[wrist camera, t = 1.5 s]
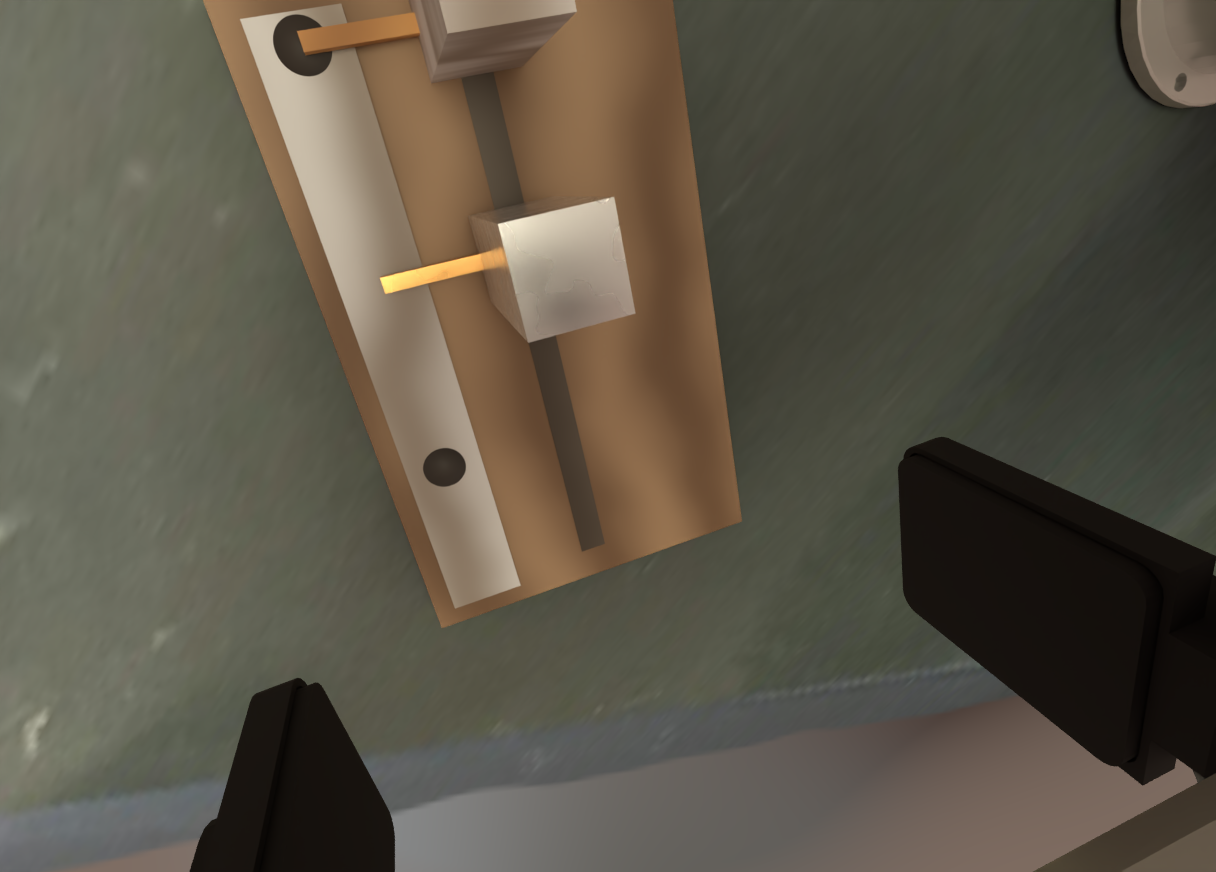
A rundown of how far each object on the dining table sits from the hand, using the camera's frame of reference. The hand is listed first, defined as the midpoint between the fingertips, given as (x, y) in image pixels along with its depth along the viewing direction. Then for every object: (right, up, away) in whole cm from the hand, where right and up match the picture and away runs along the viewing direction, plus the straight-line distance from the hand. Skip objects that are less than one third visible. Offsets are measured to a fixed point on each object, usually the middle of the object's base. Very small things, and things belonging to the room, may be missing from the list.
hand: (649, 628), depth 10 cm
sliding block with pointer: (-6, +10, +16) cm, 19 cm away
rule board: (-4, +8, +19) cm, 21 cm away
